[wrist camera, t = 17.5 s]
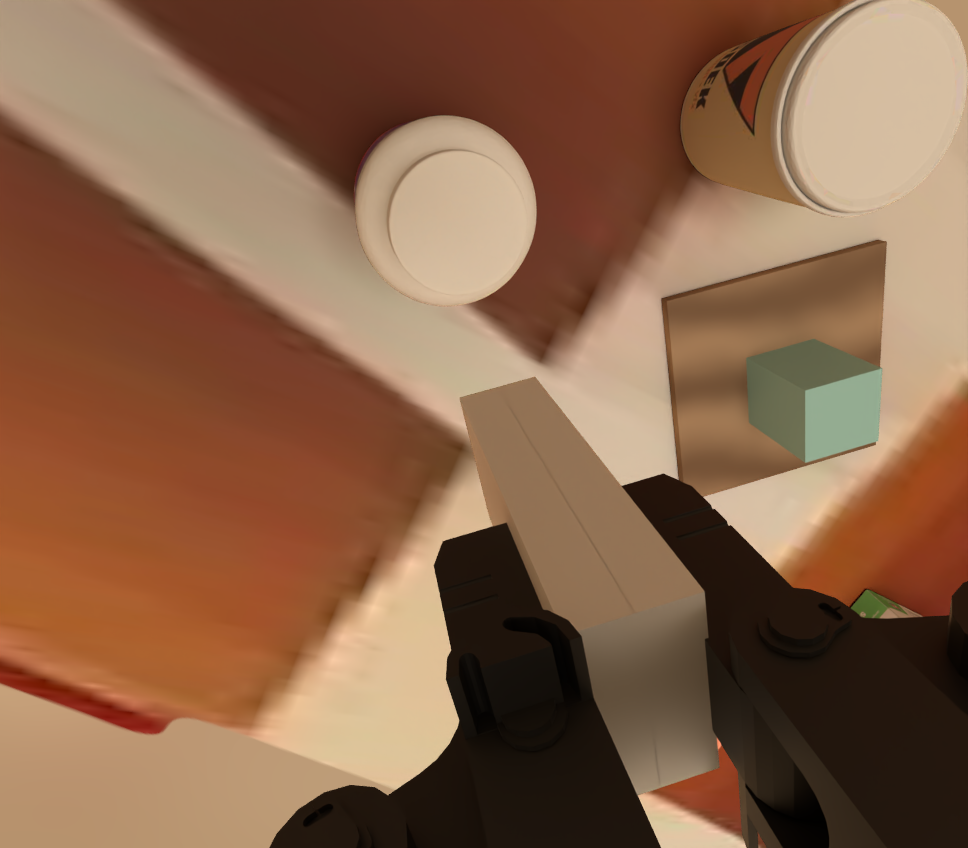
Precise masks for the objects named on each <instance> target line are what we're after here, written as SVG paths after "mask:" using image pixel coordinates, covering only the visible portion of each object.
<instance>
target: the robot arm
mask: <svg viewBox="0 0 968 848" xmlns="http://www.w3.org/2000/svg"><path fill="white" fill-rule="evenodd" d="M460 402H461V406H462V410H463V414H464V418H465V422H466V426H467V430H468V434H469V438H470V442H471V446H472V450H473V454H474V458H475V462H476V466H477V470H478V474H479V478H480V482H481V486H482V490H483V494H484V498H485V502H486V506H487V509H488V513H489V517H490V520H491V522H492V525H493V527H489V528H486V529H483V530H479V531H476V532H473V533H469V534H466V535H462V536H459V537H456V538H452V539H449V540H445V541H443V543H442V545H441V548H440V551H439V553H438V556H437V559H436V561H435V564H434V569H435V574H436V578H437V583H438V588H439V592H440V597H441V602H442V607H443V611H444V617H445V621H446V626H447V631H448V636H449V640H450V645H451V652H450V654H449V656H448V658H447V671H446V681H447V684H448V687H449V690H450V693H451V696H452V699H453V702H454V705H455V708H456V711H457V714H458V717H459V725H458V728H457V730H456V732H455V734H454V736H453V738H452V740H451V742H450V744H449V745H448V746H447V748H446V749H445V750H444V751H443V752H442V754H441V755H440V756H439V757H438V759H437V760H436V761H434V762H433V763H432V764H431V765H430V766H428V767H427V768H426V769H425V770H424V771H422V772H421V773H420V774H419V775H417V776H416V777H414V778H413V779H411V780H410V781H408V782H407V783H405V784H404V785H402V786H401V787H399V788H398V789H397V790H395V791H394V792H392V793H391V794H389V795H386V794H385V793H383V792H382V791H380V790H378V789H377V788H375V787H367V786H355V785H349V786H345V787H342V788H338V789H335V790H331V791H328V792H324V793H323V794H321V795H320V796H318V797H317V798H315V799H314V800H312V801H310V802H309V803H307V804H306V805H304V806H303V807H301V808H300V809H298V810H297V811H296V813H295V814H294V815H293V816H292V817H291V818H290V819H289V820H288V822H287V823H286V824H285V825H284V826H283V827H282V828H281V829H280V831H279V832H278V833H277V834H276V836H275V838H274V840H273V842H272V844H271V846H270V848H661V847H660V844H659V842H658V840H657V838H656V836H655V833H654V831H653V829H652V827H651V824H650V822H649V820H648V818H647V815H646V813H645V811H644V809H643V807H642V804H641V802H640V800H639V798H638V795H640V794H643V793H646V792H649V791H652V790H655V789H658V788H661V787H664V786H667V785H670V784H673V783H676V782H679V781H682V780H684V779H687V778H690V777H693V776H696V775H699V774H702V773H705V772H708V771H711V770H714V769H717V768H719V758H718V746H717V738H718V740H719V741H720V743H721V745H722V746H723V748H724V749H725V751H726V753H727V754H728V756H729V758H730V759H731V761H732V762H733V764H734V766H735V767H736V769H737V770H738V780H739V795H740V810H741V826H742V836H743V838H744V841H745V844H746V847H747V848H758V834H757V832H758V833H759V835H760V837H761V838H762V840H763V842H764V843H765V845H766V847H767V848H968V581H967V582H964V583H963V584H962V585H961V586H960V587H959V589H958V590H957V591H956V592H955V593H954V594H953V595H952V599H951V607H950V615H949V616H928V617H907V618H863V617H861V616H860V615H859V614H858V613H857V612H855V611H854V610H852V609H851V608H849V607H848V606H846V605H845V604H843V603H842V602H841V601H839V600H838V599H836V598H834V597H831V596H828V595H825V594H822V593H819V592H816V591H813V590H810V589H799V588H793V587H792V586H791V585H790V584H789V583H788V582H787V581H786V580H785V579H784V578H783V577H782V576H781V575H780V574H779V573H778V572H777V571H776V570H775V569H774V568H773V567H772V566H771V565H770V564H769V563H768V562H767V561H766V560H765V559H764V558H763V557H762V556H761V555H760V554H759V553H758V552H757V551H756V550H755V549H754V548H753V547H752V546H751V545H750V544H749V543H748V542H747V541H746V540H745V539H744V538H743V537H742V536H741V535H740V534H739V533H738V532H737V531H736V530H735V529H734V528H733V527H732V526H731V525H730V526H728V524H727V521H726V520H725V519H724V518H723V517H722V516H721V515H720V514H719V513H718V512H717V511H716V510H715V509H712V507H711V505H710V504H709V503H708V502H707V501H706V500H705V499H704V498H703V497H702V496H701V495H700V494H699V493H698V492H697V491H696V490H695V489H694V488H693V487H692V486H691V485H688V484H686V483H684V482H681V481H679V480H677V479H675V478H672V477H670V476H668V475H665V474H661V475H657V476H654V477H651V478H647V479H644V480H640V481H637V482H634V483H630V484H627V485H624V486H621V485H620V484H619V482H618V481H617V480H616V479H615V477H614V476H613V475H612V474H611V472H610V471H609V470H608V469H607V467H606V466H605V465H604V463H603V462H602V461H601V460H600V458H599V457H598V456H597V455H596V453H595V452H594V451H593V450H592V448H591V447H590V446H589V444H588V443H587V442H586V441H585V439H584V438H583V437H582V436H581V434H580V433H579V432H578V431H577V429H576V428H575V427H574V425H573V424H572V423H571V422H570V420H569V419H568V418H567V417H566V415H565V414H564V413H563V412H562V410H561V409H560V408H559V407H558V405H557V404H556V403H555V401H554V400H553V399H552V398H551V396H550V395H549V394H548V393H547V391H546V390H545V389H544V388H543V386H542V385H541V384H540V382H539V381H538V380H537V379H536V377H532V378H529V379H525V380H522V381H518V382H514V383H511V384H507V385H503V386H500V387H496V388H493V389H489V390H485V391H482V392H478V393H475V394H471V395H467V396H464V397H460Z"/></svg>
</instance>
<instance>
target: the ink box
mask: <svg viewBox="0 0 968 848" xmlns="http://www.w3.org/2000/svg"><path fill="white" fill-rule="evenodd" d="M851 609H852V610H854V611H855V612H857V613H858V614H859V615H860V616H861V617H863V618H907V617H923V616H921V615H919V614H917V613H915V612H913V611H911V610H909V609H907V608H905V607H903V606H901V605H899V604H897V603H895V602H893V601H891V600H889V599H887V598H885V597H883V596H881V595H879V594H877V593H875V592H873V591H871V590H865V592H864V593H863V594H862V595H861V596H860V598H859V599H858V600H857V601H856V602H855V603H854V605H853V606H852V607H851Z"/></svg>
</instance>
